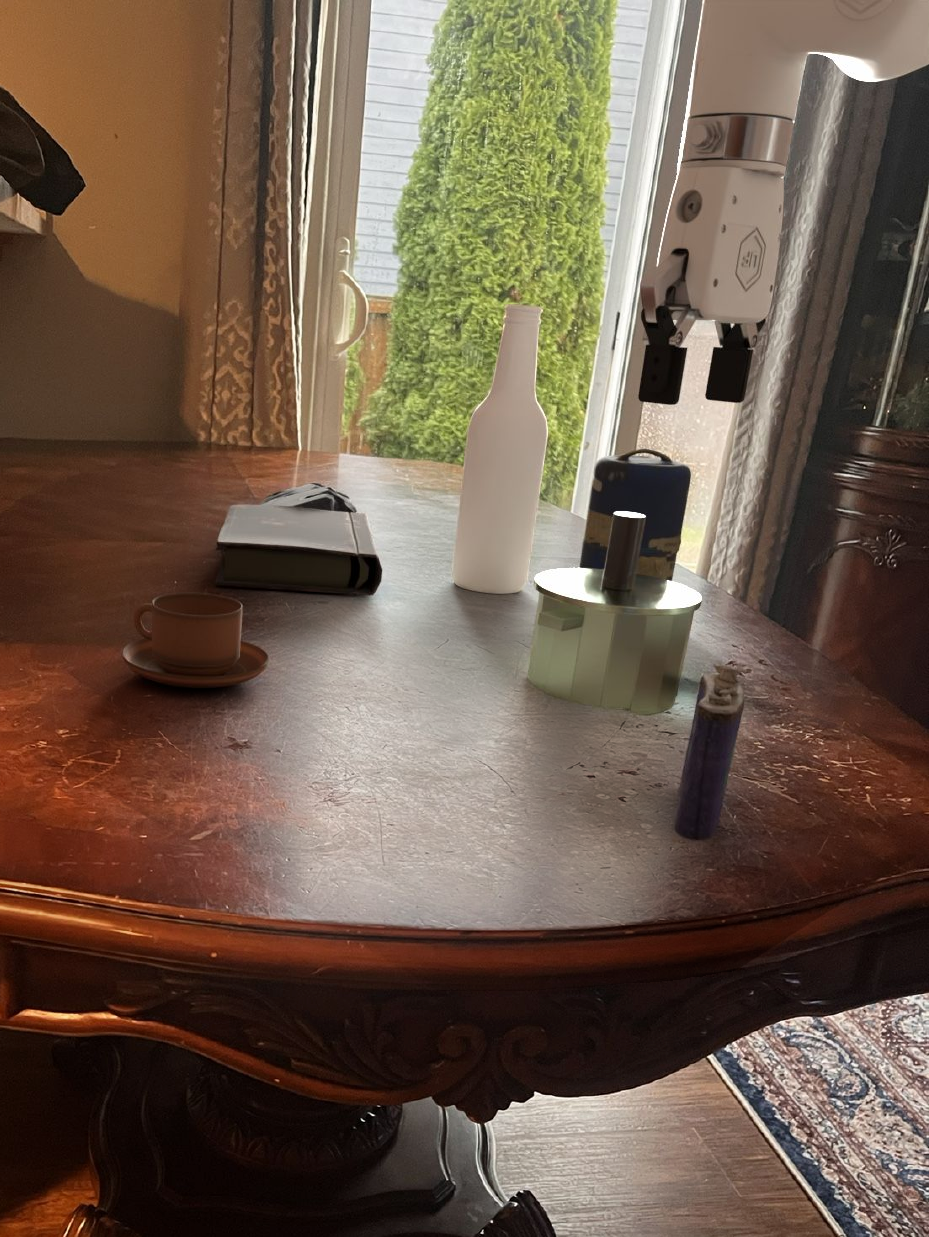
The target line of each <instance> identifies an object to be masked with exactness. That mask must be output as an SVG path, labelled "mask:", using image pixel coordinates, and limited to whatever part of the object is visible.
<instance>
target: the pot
mask: <svg viewBox="0 0 929 1237" xmlns="http://www.w3.org/2000/svg"><path fill="white" fill-rule="evenodd" d="M535 613H536V614H535V618H534V619H535V620H534V626H533V634H532V639H531V647H530V654H529V660H528V668H527V674H526V675H527V678H528V680H529V683H530V684H531V685H533V686H534V687H536V688H537V689H539V690H541V691H542V692H543V693H545V694H548V695H551V696H554V697H556V698H559V699H562V700H566V701H567V702H571V703H577V704H581V705H587V706H592V707H596V708H604V709H616V710H623V711H626V712H629V713H632V714H635V715H638V716H646V715H654V714H658V713H662V712H663V713H664V712H665V711H667V710H669V709H672V708H673V706H675V703H676V698H677V697H678V694H679V689H680V684H681V679H682V675H683V669H684V664H685V660H686V655H687V649H688V644H689V639H690V635H691V631H692V630H691V629H692V624H693V620H694V616H695V611H694V612H690V613H686V614H680V615H668V616H644V615H630V614H619V613H611V612H605V611H598V610H593V609H587V608H583V607H578V606H574V605H570V604H567V603H563V602H560V601H557V600H554V599H552V598H549V597H547V596H545V595H543V594H541V593H540V592H538V599H537V606H536V612H535Z"/></svg>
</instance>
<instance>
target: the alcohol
mask: <svg viewBox="0 0 929 1237" xmlns="http://www.w3.org/2000/svg"><path fill="white" fill-rule="evenodd" d="M504 311H505V313H504V316H503V317H502V322H503V327H502V333H501V337H500V343H499V347H498V351H497V352H498V353H497V358H496V362H495V368H494V373H493V378H492V384H491V387H490V389H489V390H488V391H489V392H488V394H487V396H486V397H485V398H484V399H483V400H482V401H481V402H480V404H478V406H476V408H475V409H474V411H473V412H472V415H471V417H470V420H469V423H468V426H467V432H466V441H465V449H464V450H465V451H464V458H463V468H462V475H461V484H460V493H459V501H458V509H457V510H458V512H457V518H456V519H457V520H456V528H455V538H454V547H453V555H452V562H451V572H450V575H451V578H452V579H453V582H454V584H455V585H456V586H457V587H459V588H462V589H464V590H469V591H472V592H478V593H483V594H484V593H485V594H495V595H498V594H499V595H507V594H514V593H515V594H516V593H519V592H520V591H522V590H523V588H525V586H526V585H527V583H528V578H529V571H530V565H531V564H530V563H531V556H532V551H533V543H534V538H535V537H534V536H535V529H536V523H537V514H538V508H539V501H540V493H541V486H542V480H543V473H544V466H545V458H546V451H547V444H548V436H549V429H548V419H547V416H546V414H545V412H544V410H543V408H542V406H541V405H540V403H539V402H538V399H537V393H536V378H537V364H538V350H539V349H538V347H539V331H540V330H539V328H540V326H541V324H542V319H541V314H542V313H543V308H542V307H541V306H539V305H526V304H511V303H507V304H505V306H504Z"/></svg>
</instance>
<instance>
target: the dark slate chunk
mask: <svg viewBox="0 0 929 1237" xmlns="http://www.w3.org/2000/svg"><path fill="white" fill-rule="evenodd" d="M260 503H261V504H260V505H277V506H291V507H303V508H311V509H319V510H327V511H338V512H348V513H351V512H353V513H358V510H357V508H356V506H355V505H354V503H353V502H352V501H351V498H350V495H349V494H348V492H346V491H344V490H341V489H338V488H337V489H336V488H333V487H332V485H328V486H326V485H324V484H322V483H320V482H310V483H306V484H302V485H298V486H295V487H291V488H288V489H283V490H279V491H276V492H273V493H271V494H268V495H267V496H266V497H264V498H263V500H262V501H261V502H260Z"/></svg>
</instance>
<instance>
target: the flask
mask: <svg viewBox="0 0 929 1237" xmlns="http://www.w3.org/2000/svg"><path fill="white" fill-rule="evenodd" d="M712 666H713V667H712V668H715V671H716V672H704V673H703V674H702V676H701V677H700V681H699V683H698V690H697V691H698V692H697V695H696V702H695V707H694V713H693V718H692V722H691V729H690V732H689V739H688V744H687V748H686V751H685V756H684V762H683V765H682V771H681V777H680V782H679V786H678V788H677V796H678V797H679V802H678V803H679V804H678V808H677V812H676V818H675V822H674V831H675V833H676V834H678V835H679V836H681V837H682V838H685V839H687V840H689V841H690V840H691V841H698V842H699V841H700V842H703V841H709V840H711V839H713V837H714V836H715V834H716V832H717V830H718V828H719V824H720V817H721V814H722V809H723V804H724V798H725V794H726V789H727V786H728V779H729V775H730V771H731V766H732V761H733V757H734V752H735V749H736V748H735V747H736V744H737V743H736V742H737V739H738V736H739V735H738V734H739V733H738V732H739V729H740V725H741V722H742V716H743V712H744V709H745V700H746V698H745V693H744V690H743V688H742V686H741V684H740V681H739V680H738V679H737V677H738V675H739V674H740V673H743V674H745V675H746V674H747V673H748V668H745V667H743V666H737V667H736V666H732V665H731V664H725V665H723V664H722V663H720V662H717V663H713V665H712Z"/></svg>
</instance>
